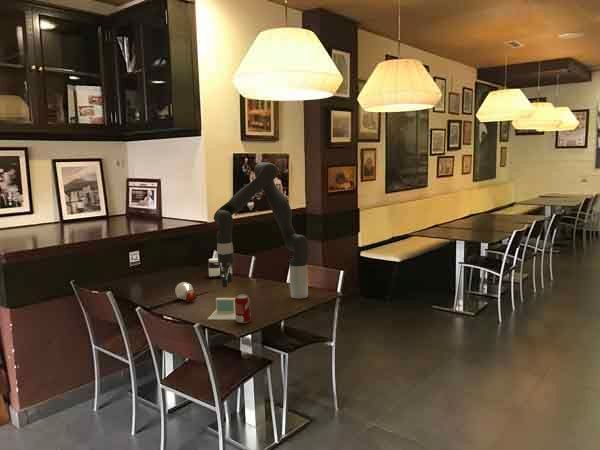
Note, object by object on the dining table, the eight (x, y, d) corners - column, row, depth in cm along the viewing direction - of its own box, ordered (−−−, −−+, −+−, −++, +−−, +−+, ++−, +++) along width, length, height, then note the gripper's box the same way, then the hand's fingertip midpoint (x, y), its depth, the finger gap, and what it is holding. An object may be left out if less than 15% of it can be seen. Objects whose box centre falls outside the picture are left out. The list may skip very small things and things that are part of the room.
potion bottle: (183, 298, 270) (193, 308, 257) (169, 291, 264) (178, 301, 252) (192, 284, 271) (203, 293, 259) (178, 276, 265) (188, 285, 253)
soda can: (242, 325, 219) (241, 299, 217) (232, 322, 223) (231, 296, 221) (254, 321, 224) (252, 295, 222) (244, 318, 228) (242, 293, 226)
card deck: (218, 310, 239) (217, 297, 238) (235, 310, 238) (235, 297, 237) (216, 312, 237) (215, 299, 236) (234, 312, 236) (233, 299, 235)
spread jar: (209, 275, 316) (208, 257, 315) (227, 274, 317) (226, 256, 316) (208, 280, 304) (207, 261, 303) (226, 279, 306) (225, 260, 304)
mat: (217, 309, 243) (217, 308, 243) (245, 309, 241) (245, 308, 241) (207, 320, 228) (207, 318, 228) (236, 320, 226) (236, 319, 226)
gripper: (221, 249, 241) (224, 281, 244) (213, 255, 227) (215, 288, 230) (236, 248, 240) (238, 281, 243) (228, 254, 226) (231, 288, 229)
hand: (227, 284), depth 236 cm, fingers open, 8 cm apart
